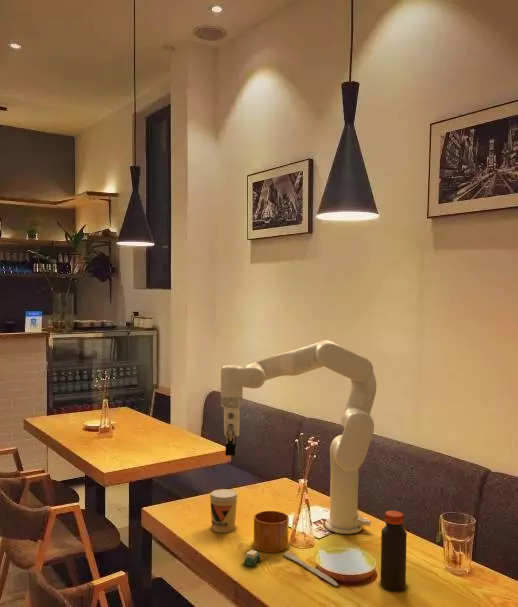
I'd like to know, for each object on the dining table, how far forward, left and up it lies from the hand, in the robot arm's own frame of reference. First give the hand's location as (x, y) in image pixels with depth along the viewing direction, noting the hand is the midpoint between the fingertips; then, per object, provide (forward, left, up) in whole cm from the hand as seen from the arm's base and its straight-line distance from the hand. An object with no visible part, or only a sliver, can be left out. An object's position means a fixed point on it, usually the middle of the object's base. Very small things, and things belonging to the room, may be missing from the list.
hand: (230, 451), depth 204 cm
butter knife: (-33, +23, -26) cm, 48 cm away
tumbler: (-17, +10, -26) cm, 33 cm away
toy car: (-15, +24, -26) cm, 38 cm away
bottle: (-56, +25, -26) cm, 67 cm away
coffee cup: (+2, +2, -26) cm, 26 cm away
